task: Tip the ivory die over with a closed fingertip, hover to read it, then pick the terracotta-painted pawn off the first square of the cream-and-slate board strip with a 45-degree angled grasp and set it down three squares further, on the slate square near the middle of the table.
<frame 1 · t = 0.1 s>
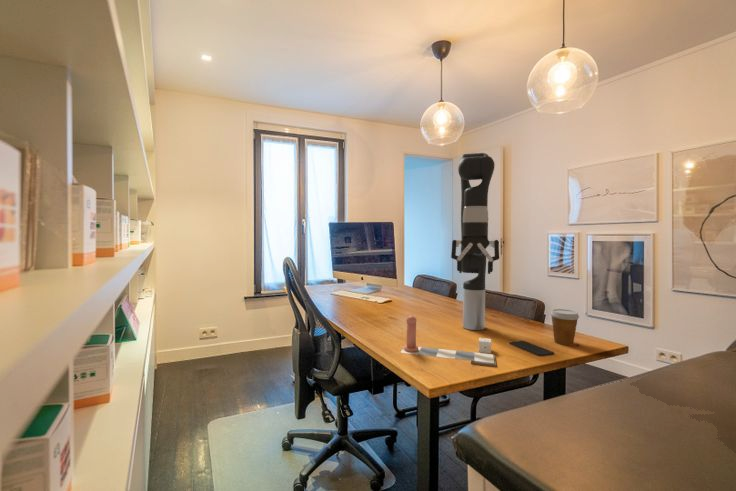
hand: (474, 273, 108), 29 cm above the table, tool pointing down, fingers open, 8 cm apart
disposable coffee cup: (563, 343, 132), on the table
board: (446, 356, 117), on the table
phone: (530, 349, 125), on the table
die: (484, 351, 123), on the table
pawn: (411, 349, 120), point 1 cm above the table, touching board
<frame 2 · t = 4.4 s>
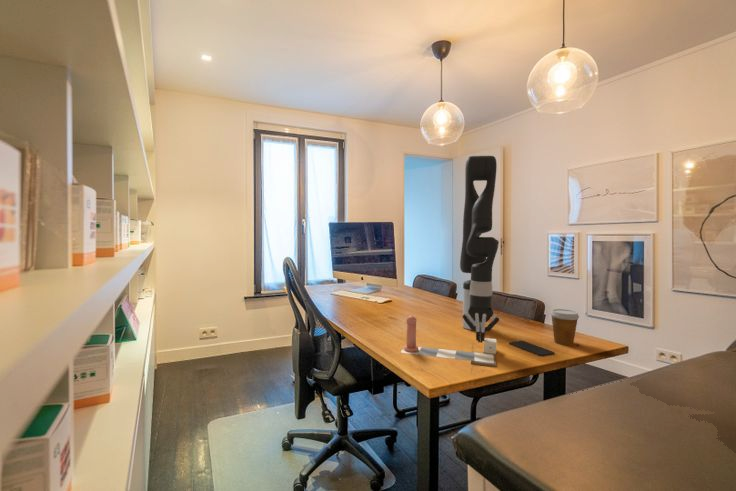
hand: (480, 341, 123), 3 cm above the table, tool pointing down, fingers closed
die: (490, 351, 122), on the table, touching gripper
everything else where it was.
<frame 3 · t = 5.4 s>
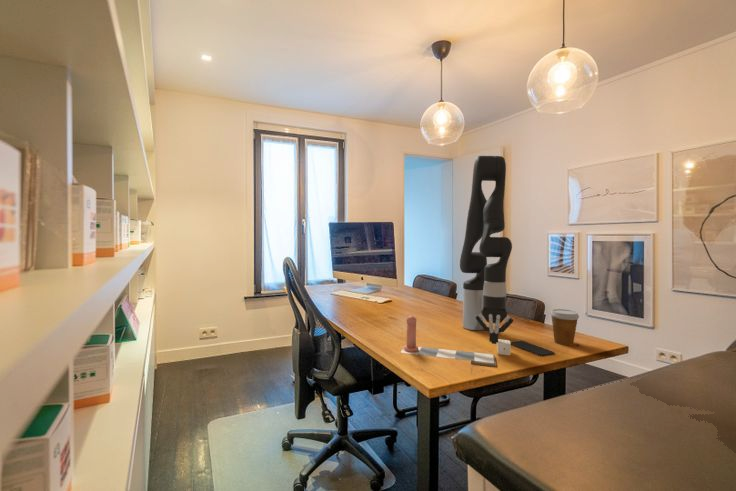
hand: (493, 343, 121), 3 cm above the table, tool pointing down, fingers closed
die: (503, 352, 121), on the table, touching gripper
everything else where it was.
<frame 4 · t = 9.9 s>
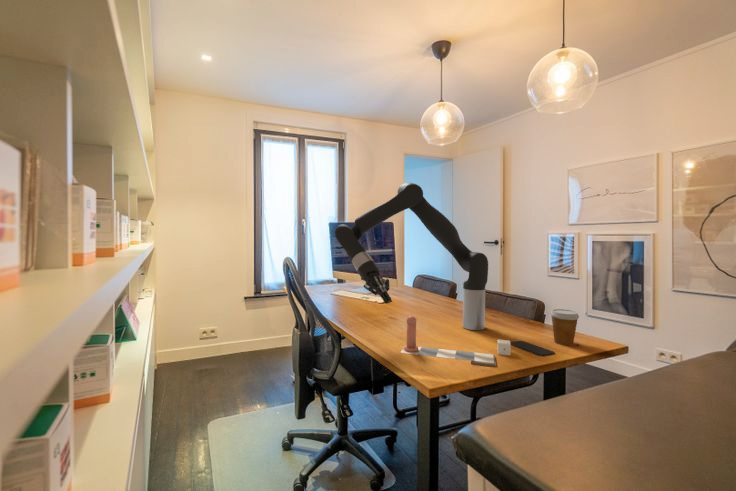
hand: (389, 302, 127), 16 cm above the table, tool tilted 45°, fingers closed
die: (503, 353, 121), on the table
everything else where it was.
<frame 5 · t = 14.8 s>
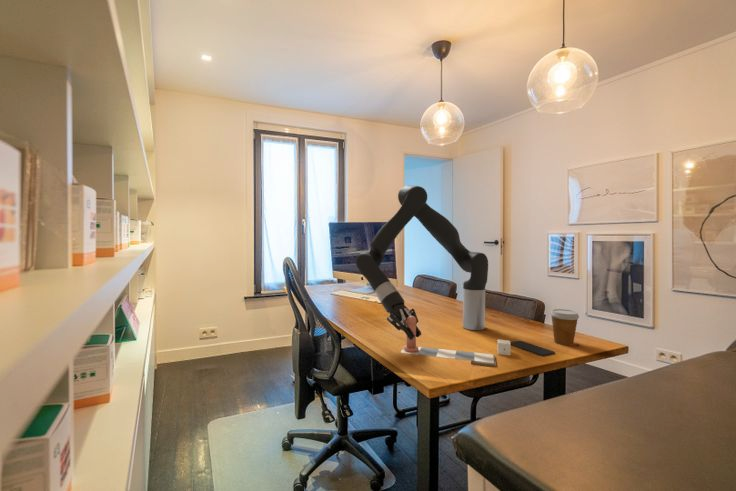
hand: (416, 336, 119), 6 cm above the table, tool tilted 45°, fingers closed on pawn, 3 cm apart
pawn: (411, 349, 120), point 1 cm above the table, touching board, gripper
everything else where it was.
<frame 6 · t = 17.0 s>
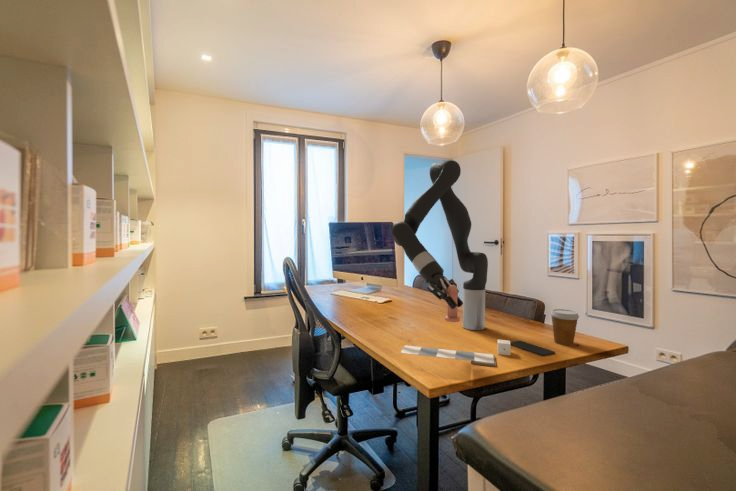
hand: (457, 306, 114), 17 cm above the table, tool tilted 45°, fingers closed on pawn, 3 cm apart
pawn: (452, 320, 116), point 12 cm above the table, touching gripper
everything else where it was.
when the fingers open (7 cm above the table, at t = 19.7 s): pawn stays where it is, resting on board.
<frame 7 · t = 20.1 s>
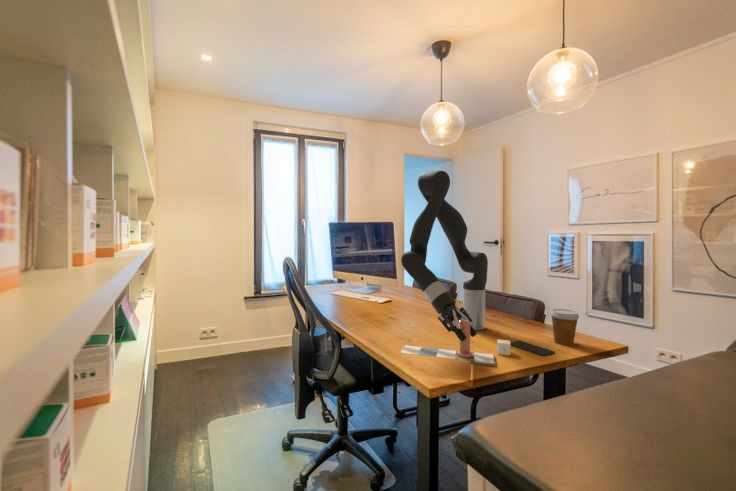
hand: (469, 337, 113), 7 cm above the table, tool tilted 45°, fingers open, 6 cm apart
pawn: (464, 355, 115), point 1 cm above the table, touching board
everything else where it was.
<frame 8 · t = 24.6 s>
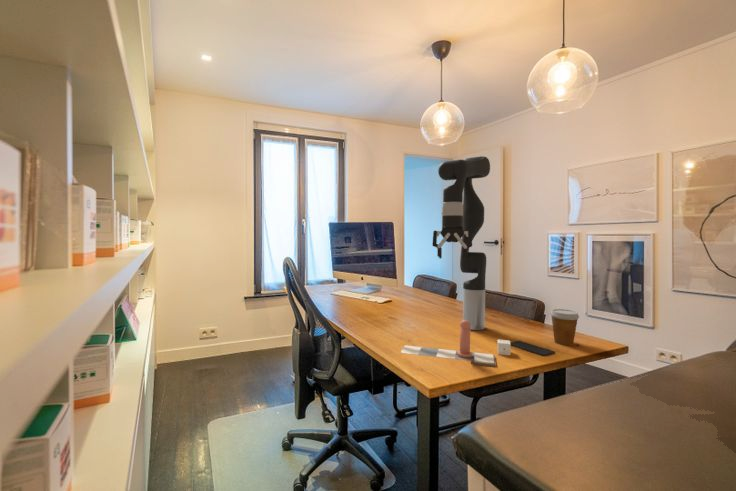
hand: (452, 258, 129), 32 cm above the table, tool pointing down, fingers open, 8 cm apart
nothing on the table moved.
at the end: pawn inside the target area (0.1 cm from its centre), point 1.0 cm above the table; pawn tilted 0°; the gripper is holding nothing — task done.
